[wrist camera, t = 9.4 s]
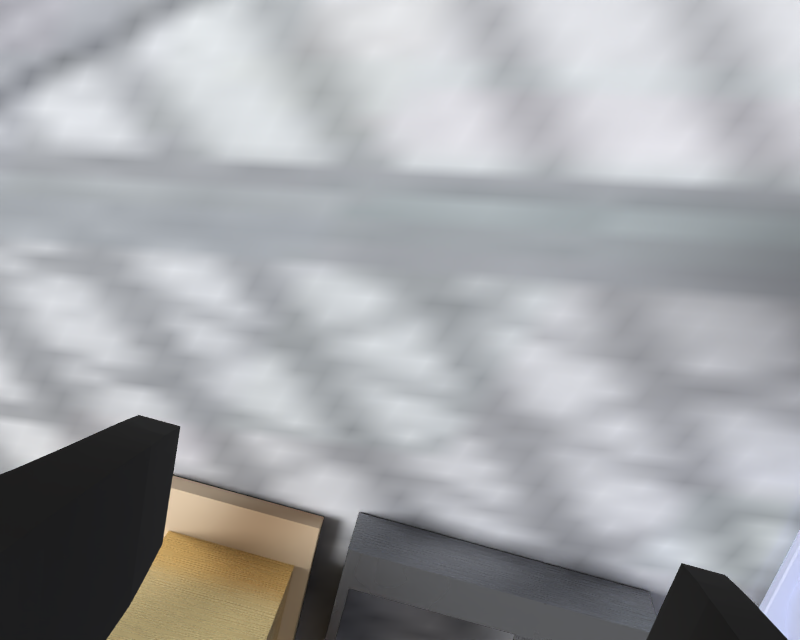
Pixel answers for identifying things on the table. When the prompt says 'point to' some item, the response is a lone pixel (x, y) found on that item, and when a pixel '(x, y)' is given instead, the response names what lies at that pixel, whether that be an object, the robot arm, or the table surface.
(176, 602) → the brushed brass bar
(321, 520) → the coaster
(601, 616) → the grey square frame
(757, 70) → the table surface
